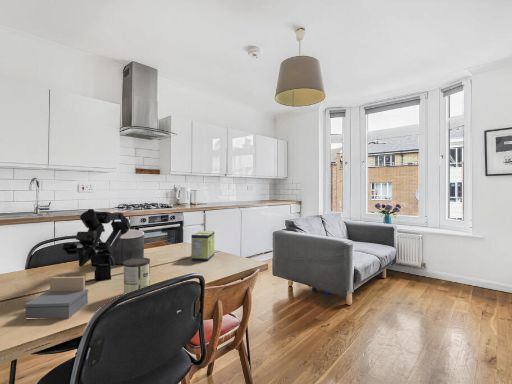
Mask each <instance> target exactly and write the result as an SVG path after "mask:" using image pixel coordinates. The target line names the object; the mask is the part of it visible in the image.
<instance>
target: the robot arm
mask: <svg viewBox="0 0 512 384" xmlns="http://www.w3.org/2000/svg"><path fill="white" fill-rule="evenodd" d="M79 219H80V220H81V222H82V223H83V225H84V227H85V228H87V231H77V232H76V236H75V240H76V241H78V243H79V244H77V245H76V243H75V242H71V241H70V242H64V243H63V244H62V246H61V249H62V250H63V252H64V253H65V254H66V255H76V254H78V266H79V267H81V268H82V267H83V266H84V265H86V263H88V262H89V261H90V263H91V267H92V268H95V269H94V279H95V281H96V282H98V281H105V280H106V281H108V280H111V279H112V270H111V269H112V268H111V267H114V266H115V264H114V263H115V259H114V258H113V256H112V250H113V248H114V247H115V245H116V244H117V242H118V240H119V239H120V237H121V235H123V234H125V233H127V232H128V230H131V223H130V221H129V219H128V218H127V217H126V216H125V215H124V213H123V212H121V211H120V212H117V211H116V212H109V211H95V210H94V208H88V209H87V211H84V212H83V213H81V214H80V216H79ZM109 223H110V226H111V228H112V231H111V233H110V234H109V235H108V237H107V239H106V241H105V242H103V241H101V236H102V234H103V233H105V232H106V229H105V227H104V225H105V224H106V225H107V224H109Z"/></svg>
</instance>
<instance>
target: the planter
mask: <svg viewBox="0 0 512 384" xmlns="http://www.w3.org/2000/svg"><path fill="white" fill-rule="evenodd" d="M144 254H145V232H144V231H143V230H139V229H129V230H128V232H127V233H125V234H123V235H121V237H120V239H119V240H118V242H117V244H116V245H115V247H114V248H113V250H112V256H113V258H114V259H115V263H114V265H118V266H124V265H123V262H124V261H125V260H128V259H132V258H145V256H144Z"/></svg>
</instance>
